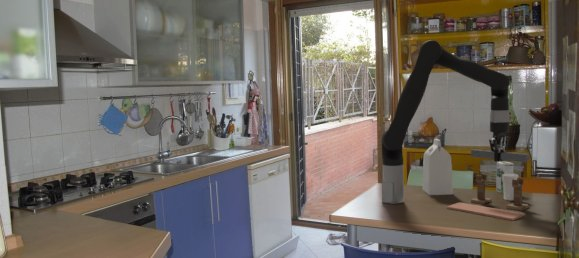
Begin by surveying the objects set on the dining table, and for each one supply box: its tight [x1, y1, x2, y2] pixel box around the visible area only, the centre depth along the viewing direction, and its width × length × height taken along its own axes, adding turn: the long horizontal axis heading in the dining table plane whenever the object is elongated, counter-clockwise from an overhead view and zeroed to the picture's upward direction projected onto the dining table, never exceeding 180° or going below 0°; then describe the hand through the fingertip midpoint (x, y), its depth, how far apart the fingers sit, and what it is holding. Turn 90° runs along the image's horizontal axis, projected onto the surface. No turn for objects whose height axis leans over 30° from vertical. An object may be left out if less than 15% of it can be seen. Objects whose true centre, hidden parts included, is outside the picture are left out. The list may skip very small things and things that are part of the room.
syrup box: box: [495, 161, 515, 194], centre depth 229 cm, size 6×6×14 cm
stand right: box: [506, 177, 530, 212], centre depth 200 cm, size 7×6×12 cm
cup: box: [502, 173, 519, 201], centre depth 215 cm, size 7×7×11 cm
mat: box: [446, 202, 525, 222], centre depth 196 cm, size 10×28×1 cm, turn 41°
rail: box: [470, 148, 531, 163], centre depth 204 cm, size 3×24×3 cm, turn 41°
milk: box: [422, 138, 454, 196], centre depth 233 cm, size 12×12×26 cm
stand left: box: [470, 173, 493, 205], centre depth 212 cm, size 7×6×12 cm
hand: (499, 160), depth 205 cm, fingers closed on rail, 3 cm apart
